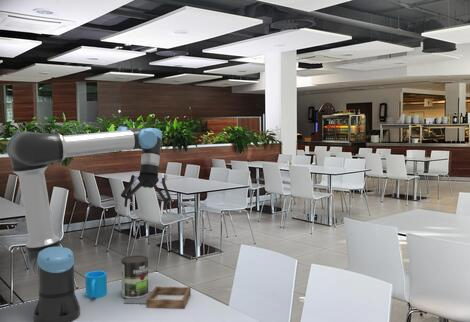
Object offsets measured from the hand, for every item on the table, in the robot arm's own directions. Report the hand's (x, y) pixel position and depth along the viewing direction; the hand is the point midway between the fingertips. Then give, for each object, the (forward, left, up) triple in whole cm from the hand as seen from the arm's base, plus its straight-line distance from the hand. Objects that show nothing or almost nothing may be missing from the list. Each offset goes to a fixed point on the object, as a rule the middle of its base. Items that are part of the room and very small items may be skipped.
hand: (144, 216), depth 185 cm
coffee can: (-2, -7, -30) cm, 31 cm away
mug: (-18, -9, -30) cm, 36 cm away
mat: (+1, -10, -30) cm, 32 cm away
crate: (+13, -12, -30) cm, 35 cm away
